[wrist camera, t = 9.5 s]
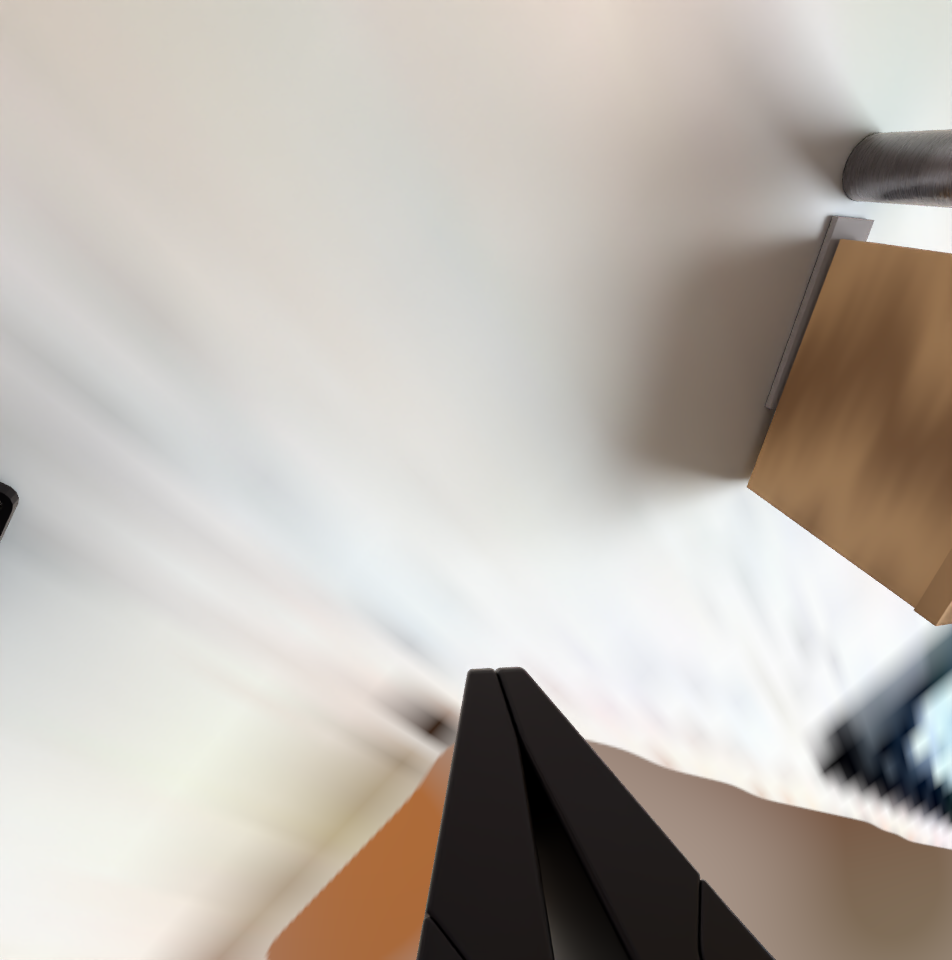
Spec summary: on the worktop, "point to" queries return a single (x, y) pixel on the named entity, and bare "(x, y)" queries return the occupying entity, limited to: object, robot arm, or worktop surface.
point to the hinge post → (902, 169)
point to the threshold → (815, 294)
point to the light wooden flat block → (873, 422)
